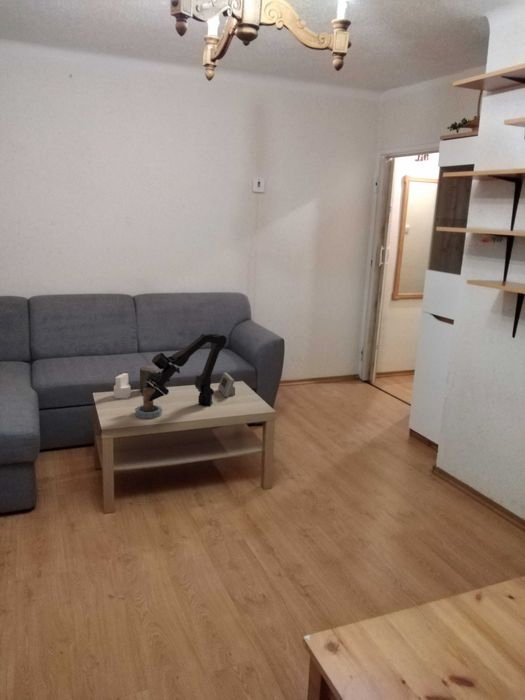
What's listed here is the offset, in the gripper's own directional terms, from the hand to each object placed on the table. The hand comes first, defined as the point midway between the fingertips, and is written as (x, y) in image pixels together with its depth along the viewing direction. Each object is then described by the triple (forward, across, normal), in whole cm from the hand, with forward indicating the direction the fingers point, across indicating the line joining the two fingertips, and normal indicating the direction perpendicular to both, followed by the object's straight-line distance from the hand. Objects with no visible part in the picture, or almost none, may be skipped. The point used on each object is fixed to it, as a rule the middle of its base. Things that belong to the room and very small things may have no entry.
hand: (145, 398), depth 278 cm
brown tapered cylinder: (+5, 0, +6) cm, 8 cm away
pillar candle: (-5, -35, +17) cm, 40 cm away
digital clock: (-31, -11, +44) cm, 54 cm away
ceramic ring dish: (+5, 0, +7) cm, 9 cm away
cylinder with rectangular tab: (+7, -33, +6) cm, 34 cm away
